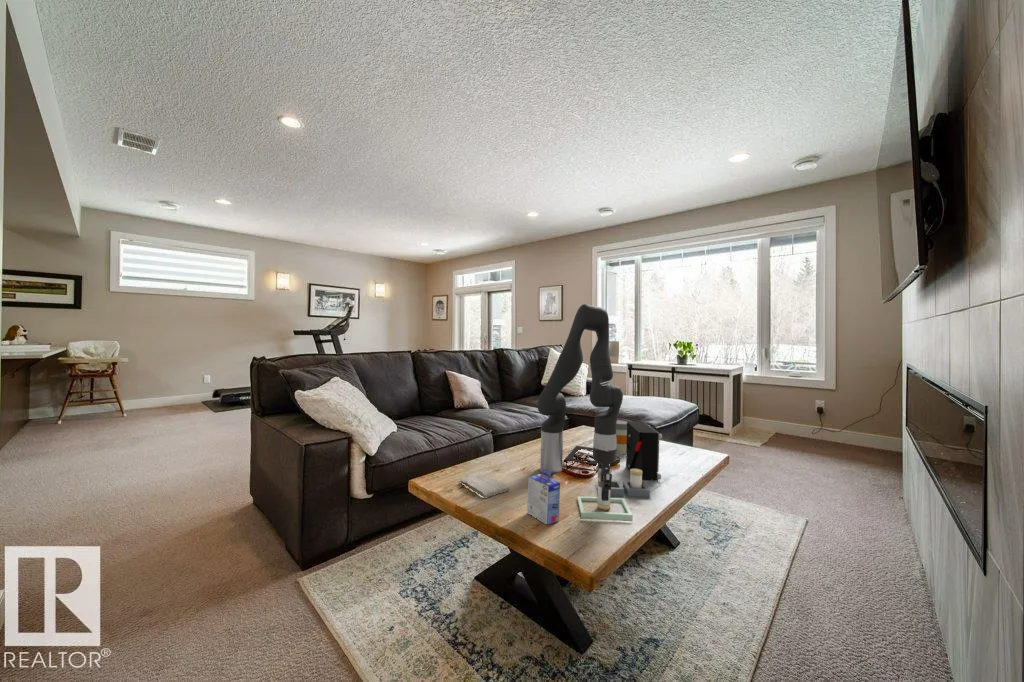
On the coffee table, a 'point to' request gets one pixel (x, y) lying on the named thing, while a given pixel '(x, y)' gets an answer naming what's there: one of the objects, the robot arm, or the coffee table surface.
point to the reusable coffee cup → (621, 435)
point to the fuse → (601, 504)
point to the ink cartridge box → (543, 498)
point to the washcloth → (484, 484)
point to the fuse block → (630, 487)
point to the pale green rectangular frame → (605, 515)
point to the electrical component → (643, 450)
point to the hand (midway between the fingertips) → (603, 496)
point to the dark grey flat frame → (570, 458)
